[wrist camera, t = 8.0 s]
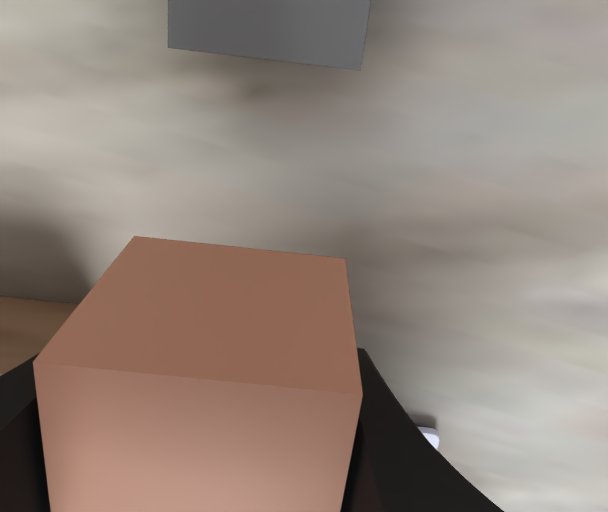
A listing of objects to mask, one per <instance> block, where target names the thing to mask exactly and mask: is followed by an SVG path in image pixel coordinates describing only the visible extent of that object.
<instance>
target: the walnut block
mask: <svg viewBox="0 0 608 512" xmlns="http://www.w3.org/2000/svg"><path fill="white" fill-rule="evenodd" d="M78 305H79V304H71V303H62V302H52V301H42V300H32V299H23V298H13V297H3V296H0V376H1V375H3V374H5V373H6V372H8V371H10V370H12V369H13V368H15V367H17V366H19V365H20V364H22V363H24V362H25V361H27V360H28V359H30V358H32V357H33V356H35V355H37V354H38V353H40V352H41V351H42V350H43V349H44V348H45V346H46V345H47V344H48V343H49V341H50V340H51V339H52V338H53V336H54V335H55V334H56V333H57V331H58V330H59V329H60V328H61V326H62V325H63V324H64V323H65V321H66V320H67V319H68V318H69V316H70V315H71V314H72V313H73V311H74V310H75V309H76V308H77V307H78Z"/></svg>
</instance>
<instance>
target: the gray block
mask: <svg viewBox="0 0 608 512" xmlns="http://www.w3.org/2000/svg"><path fill="white" fill-rule="evenodd" d="M370 3H371V0H168V48H174V49H183V50H191V51H200V52H208V53H217V54H225V55H233V56H242V57H250V58H259V59H267V60H275V61H284V62H292V63H301V64H309V65H317V66H326V67H334V68H343V69H351V70H359V71H361V64H362V57H363V51H364V44H365V37H366V30H367V23H368V17H369V10H370Z"/></svg>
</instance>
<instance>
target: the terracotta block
mask: <svg viewBox="0 0 608 512" xmlns="http://www.w3.org/2000/svg"><path fill="white" fill-rule="evenodd" d="M33 368H34V377H35V385H36V393H37V401H38V410H39V418H40V426H41V435H42V443H43V451H44V459H45V468H46V476H47V484H48V493H49V501H50V509H51V512H340V510H341V505H342V500H343V494H344V489H345V484H346V479H347V474H348V469H349V463H350V458H351V453H352V448H353V443H354V438H355V433H356V427H357V422H358V417H359V412H360V407H361V402H362V396H363V392H362V385H361V377H360V369H359V362H358V354H357V346H356V339H355V331H354V323H353V316H352V308H351V300H350V292H349V285H348V277H347V269H346V262H345V258H336V257H326V256H317V255H308V254H298V253H289V252H279V251H270V250H261V249H251V248H242V247H233V246H223V245H214V244H205V243H195V242H186V241H177V240H167V239H158V238H148V237H139V236H134V237H133V238H132V239H131V241H130V242H129V243H128V244H127V246H126V247H125V248H124V249H123V251H122V252H121V253H120V254H119V256H118V257H117V258H116V259H115V261H114V262H113V263H112V264H111V266H110V267H109V268H108V269H107V270H106V272H105V273H104V274H103V275H102V277H101V278H100V279H99V280H98V282H97V283H96V284H95V285H94V287H93V288H92V289H91V290H90V292H89V293H88V294H87V295H86V297H85V298H84V299H83V300H82V302H81V303H80V304H79V305H78V307H77V308H76V309H75V310H74V311H73V313H72V314H71V315H70V316H69V318H68V319H67V320H66V321H65V323H64V324H63V325H62V326H61V328H60V329H59V330H58V331H57V333H56V334H55V335H54V336H53V338H52V339H51V340H50V341H49V343H48V344H47V345H46V346H45V348H44V349H43V350H42V351H41V353H40V354H39V355H38V356H37V357H36V359H35V360H34V361H33Z"/></svg>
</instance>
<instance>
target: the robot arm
mask: <svg viewBox="0 0 608 512" xmlns="http://www.w3.org/2000/svg"><path fill="white" fill-rule="evenodd" d="M40 353H41V352H40ZM40 353H38V354H37V355H35V356H33V357H32V358H30V359H28V360H27V361H25V362H24V363H22V364H20V365H19V366H17V367H15V368H13V369H12V370H10V371H8V372H6V373H5V374H3V375H1V376H0V512H51V509H50V501H49V493H48V484H47V476H46V468H45V459H44V451H43V443H42V435H41V426H40V418H39V410H38V401H37V393H36V385H35V377H34V368H33V361H34V360H35V359H36V357H37V356H38V355H39V354H40ZM357 354H358V362H359V369H360V377H361V385H362V392H363V396H362V402H361V407H360V412H359V417H358V422H357V427H356V433H355V438H354V443H353V448H352V453H351V458H350V463H349V469H348V474H347V479H346V484H345V489H344V494H343V500H342V505H341V510H340V512H504V511H503V510H501V509H500V508H499V507H498V506H496V505H495V504H494V503H493V502H491V501H490V500H489V499H488V498H487V497H486V496H485V495H483V494H482V493H481V492H480V491H479V490H478V489H477V488H475V487H474V486H473V485H472V484H471V483H470V482H469V481H467V480H466V479H465V478H464V477H463V476H462V475H461V474H460V473H459V472H458V471H457V470H456V469H455V468H454V467H453V466H452V465H451V464H450V463H449V462H448V461H447V460H446V459H445V458H444V457H443V456H442V455H441V454H440V453H439V452H438V451H437V450H438V446H439V442H440V438H439V434H438V432H437V431H436V430H435V429H433V428H427V427H417V426H416V425H415V424H414V422H413V421H412V420H411V418H410V417H409V416H408V415H407V413H406V412H405V410H404V409H403V408H402V406H401V405H400V403H399V402H398V401H397V399H396V398H395V396H394V395H393V394H392V392H391V391H390V389H389V388H388V386H387V385H386V383H385V381H384V380H383V378H382V377H381V375H380V373H379V372H378V370H377V369H376V367H375V365H374V364H373V362H372V360H371V358H370V357H369V355H368V353H367V352H366V351H365V350H364V349H361V348H357Z"/></svg>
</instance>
